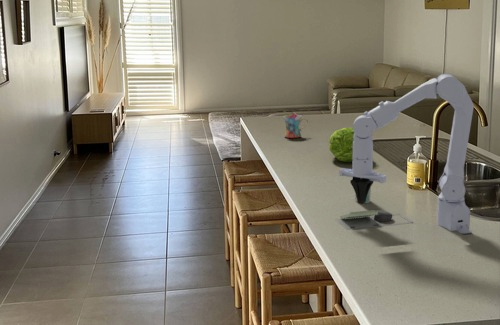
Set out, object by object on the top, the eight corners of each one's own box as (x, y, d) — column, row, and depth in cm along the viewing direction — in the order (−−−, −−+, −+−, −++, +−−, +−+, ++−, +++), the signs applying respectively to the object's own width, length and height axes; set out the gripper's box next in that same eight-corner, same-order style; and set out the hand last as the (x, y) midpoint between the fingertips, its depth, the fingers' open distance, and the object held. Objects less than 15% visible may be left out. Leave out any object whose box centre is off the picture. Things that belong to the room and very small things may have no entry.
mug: (284, 139, 319) (284, 117, 317) (282, 135, 328) (282, 114, 326) (308, 138, 320) (308, 117, 318) (306, 135, 329) (306, 114, 327)
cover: (378, 214, 188) (377, 209, 188) (348, 216, 186) (348, 212, 186) (368, 216, 194) (368, 212, 195) (340, 218, 192) (340, 214, 193)
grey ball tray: (413, 227, 188) (413, 221, 188) (346, 234, 184) (346, 227, 183) (399, 218, 197) (399, 212, 196) (335, 224, 192) (335, 218, 192)
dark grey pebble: (393, 224, 190) (395, 216, 190) (379, 222, 188) (381, 214, 188) (384, 218, 195) (386, 211, 194) (370, 217, 193) (372, 209, 193)
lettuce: (360, 153, 289) (355, 121, 287) (377, 159, 265) (371, 124, 263) (323, 161, 287) (317, 129, 285) (336, 167, 263) (330, 132, 261)
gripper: (392, 158, 185) (390, 204, 188) (348, 152, 194) (347, 195, 198) (379, 163, 180) (378, 209, 183) (335, 156, 189) (334, 200, 192)
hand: (361, 202), depth 190 cm, fingers closed
